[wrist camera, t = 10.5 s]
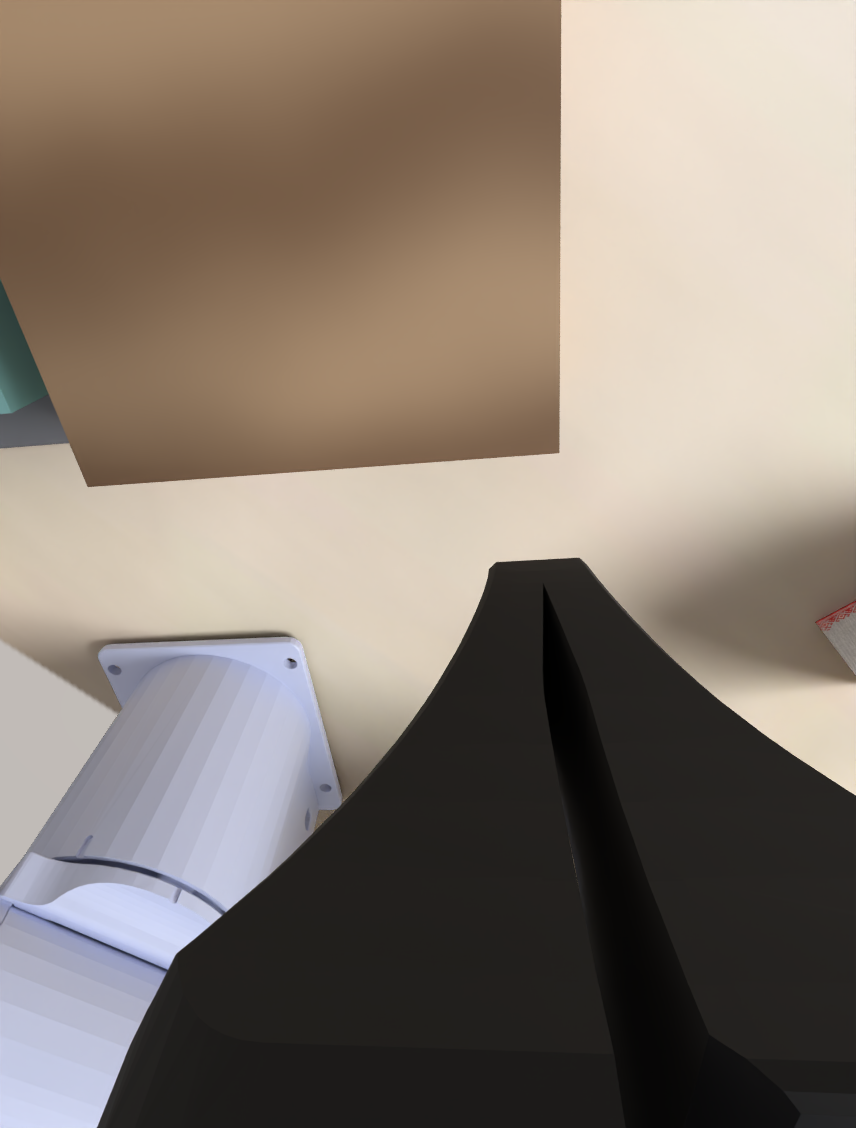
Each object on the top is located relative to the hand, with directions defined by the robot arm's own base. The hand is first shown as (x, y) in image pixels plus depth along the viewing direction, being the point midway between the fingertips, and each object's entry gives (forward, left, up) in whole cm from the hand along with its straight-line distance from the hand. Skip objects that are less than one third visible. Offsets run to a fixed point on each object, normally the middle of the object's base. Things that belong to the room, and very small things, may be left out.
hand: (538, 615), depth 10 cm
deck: (+6, +5, -10) cm, 13 cm away
